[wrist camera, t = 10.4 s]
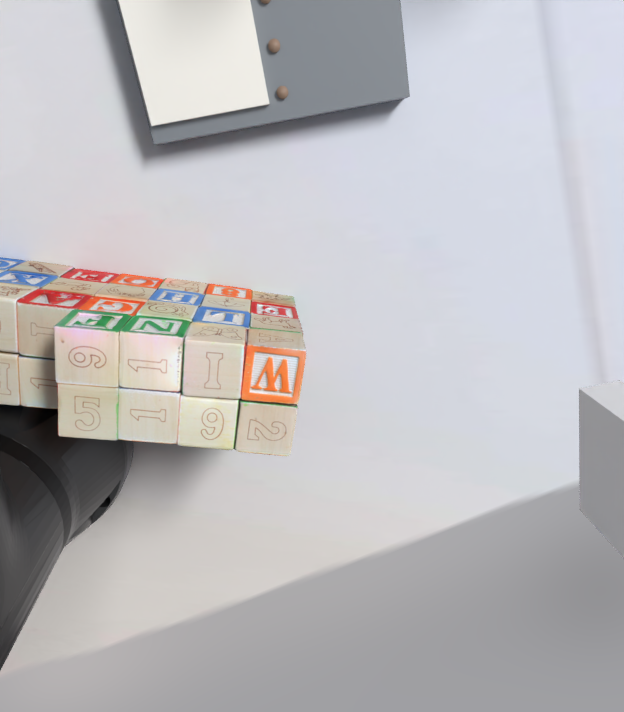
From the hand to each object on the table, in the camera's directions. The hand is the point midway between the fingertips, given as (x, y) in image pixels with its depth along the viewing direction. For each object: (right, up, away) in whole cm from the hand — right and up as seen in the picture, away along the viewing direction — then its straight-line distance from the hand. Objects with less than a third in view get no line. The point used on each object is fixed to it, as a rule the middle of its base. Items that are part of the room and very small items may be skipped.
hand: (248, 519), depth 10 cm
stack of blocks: (-11, +6, +28) cm, 31 cm away
